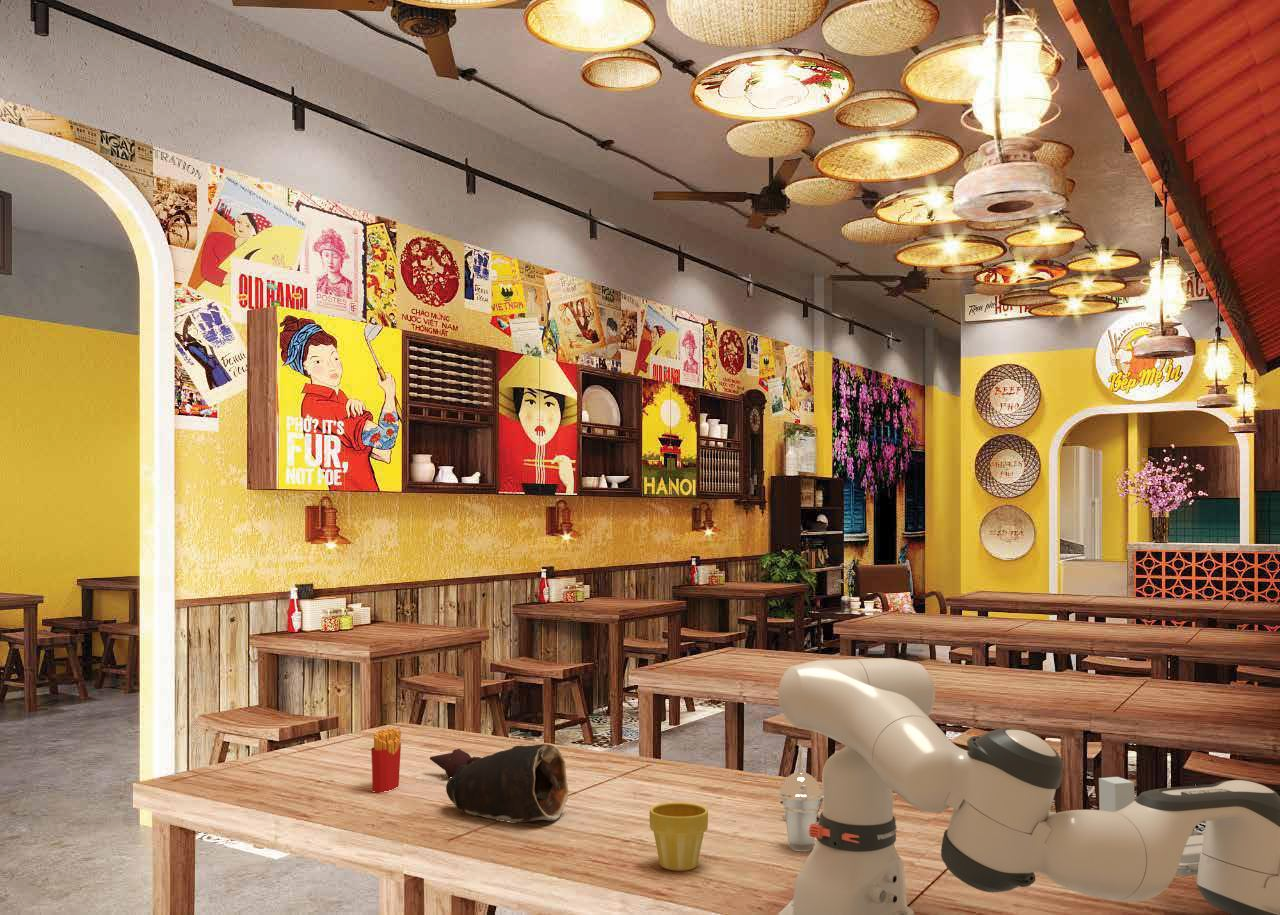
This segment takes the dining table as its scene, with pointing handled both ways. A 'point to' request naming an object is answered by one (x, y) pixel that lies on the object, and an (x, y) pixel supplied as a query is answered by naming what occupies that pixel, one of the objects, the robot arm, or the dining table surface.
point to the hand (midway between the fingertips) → (1169, 837)
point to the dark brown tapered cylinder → (513, 785)
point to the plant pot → (678, 833)
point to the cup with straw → (800, 806)
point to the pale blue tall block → (1115, 793)
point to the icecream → (453, 761)
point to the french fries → (386, 760)
